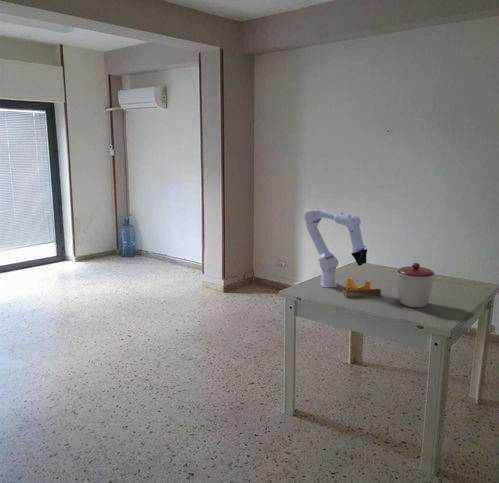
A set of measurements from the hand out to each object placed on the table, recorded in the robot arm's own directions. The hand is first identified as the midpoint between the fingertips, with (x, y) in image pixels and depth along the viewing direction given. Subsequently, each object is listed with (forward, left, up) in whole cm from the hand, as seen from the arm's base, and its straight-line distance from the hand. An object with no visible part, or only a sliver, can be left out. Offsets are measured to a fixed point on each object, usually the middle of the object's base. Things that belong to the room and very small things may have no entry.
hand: (362, 264), depth 253 cm
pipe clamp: (-3, -1, -16) cm, 16 cm away
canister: (+20, +20, -16) cm, 33 cm away
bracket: (+3, -1, -16) cm, 16 cm away
